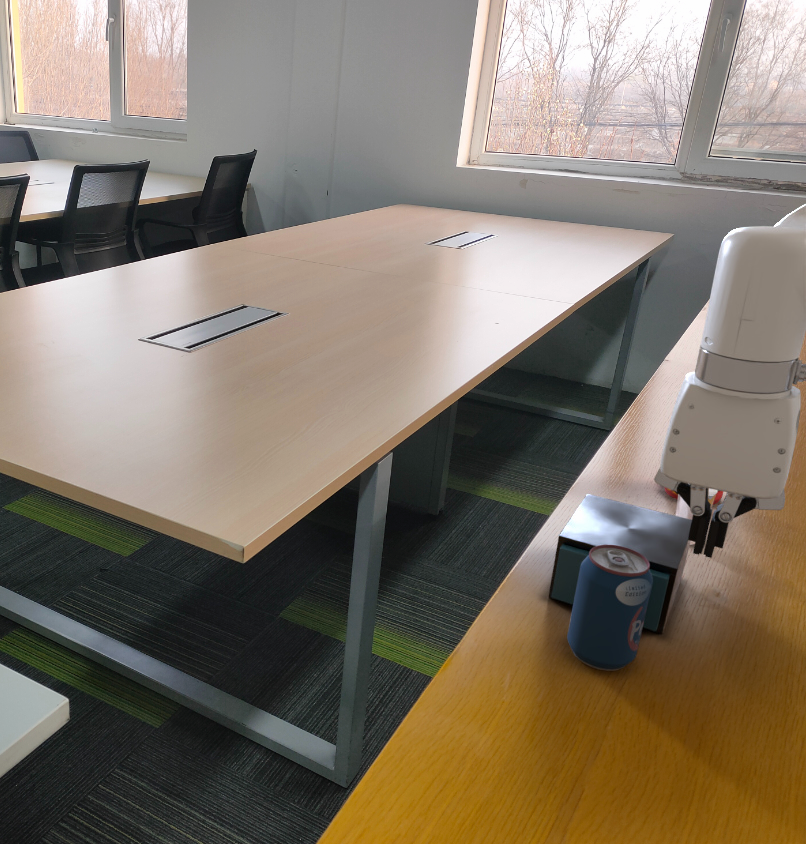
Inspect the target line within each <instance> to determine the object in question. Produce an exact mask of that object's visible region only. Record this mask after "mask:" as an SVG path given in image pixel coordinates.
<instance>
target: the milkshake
mask: <svg viewBox="0 0 806 844" xmlns="http://www.w3.org/2000/svg"><path fill="white" fill-rule="evenodd" d="M717 492H718V490H714V489H710V488H709V497H708V501H709V503H710V504H711V508H710V509H712V507H713V505H714V504H713V502H714V499H715V497H716V494H717ZM712 504H713V505H712ZM674 515H675V516H679V517H683V518H687V519H691V520H692V517H693V514H692V513H691V511H690V507H689V506H688V505H687V504H686V502H685V501H684V500H683V499H682V497H681V496H680V495H679V494H678V500H677V501H676V509H675V514H674ZM691 545H692V546H693V545H695V542H694V541H691V542H690V546H691Z"/></svg>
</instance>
